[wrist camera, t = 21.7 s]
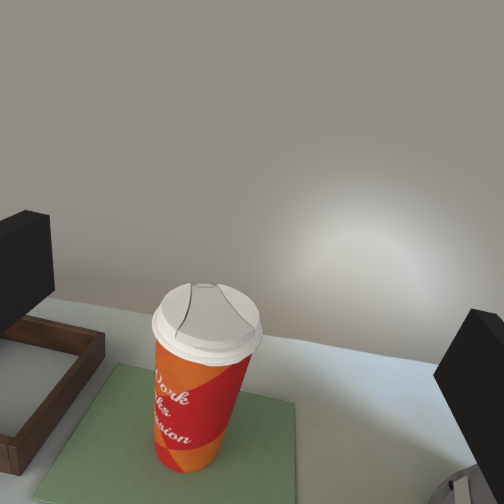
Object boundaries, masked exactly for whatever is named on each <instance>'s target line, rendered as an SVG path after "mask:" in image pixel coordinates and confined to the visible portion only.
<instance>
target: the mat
mask: <svg viewBox="0 0 504 504" xmlns="http://www.w3.org/2000/svg"><path fill="white" fill-rule="evenodd" d="M154 403H155V372H154V371H150V370H145V369H141V368H137V367H132V366H128V365H124V364H119V363H118V364H117V366H116V367H115V369H114V370H113V372H112V373H111V375H110V377H109V378H108V380H107V381H106V383H105V384H104V386H103V387H102V389H101V390H100V392H99V394H98V395H97V397H96V398H95V400H94V401H93V403H92V404H91V406H90V408H89V409H88V411H87V412H86V414H85V415H84V417H83V418H82V420H81V422H80V423H79V425H78V426H77V428H76V429H75V431H74V432H73V434H72V435H71V437H70V439H69V440H68V442H67V443H66V445H65V446H64V448H63V449H62V451H61V453H60V454H59V456H58V457H57V459H56V460H55V462H54V463H53V465H52V467H51V468H50V470H49V471H48V473H47V474H46V476H45V477H44V479H43V481H42V482H41V484H40V485H39V487H38V488H37V490H36V491H35V493H34V494H33V496H32V500H35V501H39V502H43V503H48V504H295V419H294V404H293V403H289V402H284V401H280V400H275V399H271V398H267V397H262V396H258V395H254V394H249V393H245V392H241V391H239V394H238V397H237V400H236V403H235V405H234V408H233V411H232V414H231V417H230V420H229V423H228V426H227V429H226V432H225V434H224V437H223V440H222V443H221V445H220V448H219V450H218V452H217V455H216V456H215V458H214V459H213V461H212V462H211V463H210V464H209V465H208V466H206V467H205V468H203V469H201V470H199V471H197V472H193V473H179V472H175V471H173V470H171V469H169V468H167V467H166V466H165V465H164V464H163V463H162V462H161V461H160V460H159V458H158V456H157V454H156V451H155V445H154Z"/></svg>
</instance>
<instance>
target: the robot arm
mask: <svg viewBox="0 0 504 504" xmlns="http://www.w3.org/2000/svg"><path fill="white" fill-rule="evenodd" d="M53 291H55V286H54V272H53V259H52V244H51V230H50V217H49V215H46V214H41V213H37V212H32V211H28V210H24V211H22V212H19V213H17V214H15V215H13V216H10V217H8V218H6V219H4V220H1V221H0V335H2V334H3V333H4V332H5V331H6V330H8V329H9V328H10V327H11V326H12V325H14V324H15V323H16V322H17V321H18V320H20V319H21V318H22V317H23V316H24V315H26V314H27V313H28V312H29V311H30V310H32V309H33V308H34V307H35V306H37V305H38V304H39V303H40V302H41V301H43V300H44V299H45V298H46V297H47V296H49V295H50V294H51V293H52V292H53ZM433 376H434V378H435V380H436V382H437V384H438V386H439V388H440V390H441V392H442V394H443V396H444V398H445V400H446V402H447V404H448V406H449V408H450V410H451V412H452V414H453V416H454V418H455V420H456V422H457V424H458V426H459V428H460V430H461V432H462V434H463V436H464V438H465V440H466V442H467V444H468V446H469V448H470V450H471V452H472V454H473V456H474V458H475V460H476V462H477V464H476V465H473V466H471V467H469V468H466V469H464V470H461V471H459V472H457V473H455V474H453V475H451V476H450V477H449V478H448V479H446V480H445V481H444V482H443V483H442V484H441V485H440V486H439V488H438V489H437V490H436V492H435V493H434V494H433V496H432V498H431V499H430V502H429V504H504V322H503V321H502V319H501V318H500V317H499V316H498V315H497V314H494V313H489V312H485V311H480V310H476V309H471V310H470V312H469V313H468V315H467V317H466V319H465V321H464V322H463V324H462V326H461V327H460V329H459V331H458V333H457V335H456V336H455V338H454V340H453V341H452V343H451V345H450V347H449V348H448V350H447V352H446V353H445V355H444V357H443V359H442V360H441V362H440V364H439V366H438V367H437V369H436V371H435V373H434V374H433Z"/></svg>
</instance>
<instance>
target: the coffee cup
mask: <svg viewBox="0 0 504 504" xmlns="http://www.w3.org/2000/svg"><path fill="white" fill-rule="evenodd" d="M152 329H153V332H154V335H155V337H156V365H155V403H154V445H155V451H156V454H157V456H158V458H159V460H160V461H161V462H162V463H163V464H164V465H165V466H166V467H167V468H169V469H171V470H173V471H175V472H179V473H193V472H197V471H199V470H201V469H203V468H205V467H206V466H208V465H209V464H210V463H211V462H212V461H213V459H214V458H215V456H216V455H217V452H218V450H219V448H220V445H221V443H222V440H223V437H224V434H225V432H226V429H227V426H228V423H229V420H230V417H231V414H232V411H233V408H234V405H235V403H236V400H237V397H238V394H239V391H240V388H241V385H242V382H243V379H244V376H245V373H246V370H247V367H248V364H249V361H250V358H251V355H252V353H253V352H254V351H255V350H256V349H257V347H258V346H259V344H260V342H261V340H262V334H263V332H262V326H261V323H260V316H259V312H258V310H257V308H256V306H255V304H254V303H253V302H252V300H250V299H249V298H248V297H247V296H246V295H244V294H243V293H242V292H240V291H238V290H236V289H234V288H231V287H228V286H225V285H221V284H218V286H212V284H197V286H190V284H184V285H181V286H179V287H177V288H175V289H173V290H171V291H170V292H169V293H168V294H167V295H166V296H165V297H164V299H163V300H162V302H161V305H160V306H159V307H158V308H157V310H156V311H155V313H154V315H153V318H152Z"/></svg>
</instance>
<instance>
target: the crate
mask: <svg viewBox="0 0 504 504" xmlns="http://www.w3.org/2000/svg"><path fill="white" fill-rule="evenodd" d="M0 338H4V339H9V340H13V341H17V342H22V343H26V344H30V345H35V346H39V347H43V348H48V349H52V350H56V351H61V352H65V353H69V354H74V355H78V356H80V357H79V358H78V359H77V360H76V362H75V363H74V364H73V365H72V367H71V368H70V369H69V370H68V371H67V373H66V374H65V375H64V376H63V378H62V379H61V380H60V381H59V383H58V384H57V385H56V386H55V388H54V389H53V390H52V391H51V393H50V394H49V395H48V396H47V397H46V399H45V400H44V401H43V402H42V404H41V405H40V406H39V407H38V409H37V410H36V411H35V412H34V414H33V415H32V416H31V417H30V418H29V420H28V421H27V422H26V423H25V425H24V426H23V427H22V428H21V430H20V431H19V432H18V433H17V435H16V436H15V437H14V438H13V437H9V436H5V435H1V434H0V472H4V473H8V474H13V475H18V476H21V475H22V473H23V472H24V470H25V469H26V468H27V466H28V465H29V463H30V462H31V461H32V459H33V458H34V456H35V455H36V453H37V452H38V451H39V449H40V448H41V446H42V445H43V444H44V442H45V441H46V439H47V438H48V437H49V435H50V434H51V432H52V431H53V430H54V428H55V427H56V425H57V424H58V422H59V421H60V420H61V418H62V417H63V415H64V414H65V413H66V411H67V410H68V408H69V407H70V406H71V404H72V403H73V401H74V400H75V399H76V397H77V396H78V394H79V393H80V391H81V390H82V389H83V387H84V386H85V384H86V383H87V382H88V380H89V379H90V377H91V376H92V375H93V373H94V372H95V370H96V369H97V368H98V366H99V365H100V363H101V362H102V360H103V359H104V358H105V333H103V332H98V331H94V330H90V329H85V328H81V327H77V326H72V325H68V324H63V323H59V322H55V321H50V320H46V319H42V318H37V317H33V316H29V315H24V316H23V317H22V318H21V319H20V320H18V321H17V322H16V323H15V324H14V325H12V326H11V327H10V328H9V329H8V330H6V331H5V332H4V333H3V334H2V335H0Z"/></svg>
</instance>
